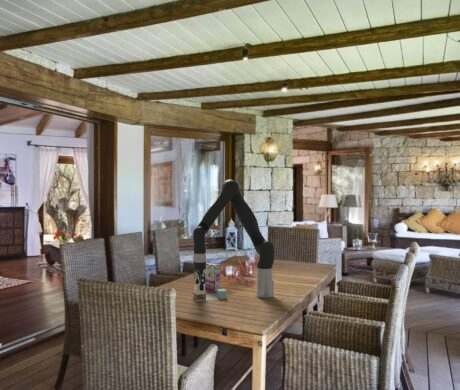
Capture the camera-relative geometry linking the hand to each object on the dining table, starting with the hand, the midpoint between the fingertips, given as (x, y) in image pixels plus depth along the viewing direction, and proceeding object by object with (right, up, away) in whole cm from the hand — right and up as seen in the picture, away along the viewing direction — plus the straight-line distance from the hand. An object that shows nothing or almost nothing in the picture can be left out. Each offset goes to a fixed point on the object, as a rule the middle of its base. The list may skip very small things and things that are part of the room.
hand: (199, 288), depth 232 cm
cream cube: (0, -3, 0) cm, 3 cm away
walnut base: (0, -6, 0) cm, 6 cm away
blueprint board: (+5, -6, +3) cm, 8 cm away
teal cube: (+13, -6, +2) cm, 14 cm away
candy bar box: (+7, -6, +22) cm, 24 cm away
